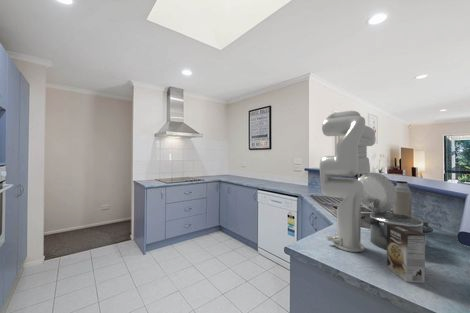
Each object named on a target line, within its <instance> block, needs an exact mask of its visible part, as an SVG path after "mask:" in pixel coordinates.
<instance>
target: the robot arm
mask: <svg viewBox="0 0 470 313" xmlns="http://www.w3.org/2000/svg"><path fill="white" fill-rule="evenodd" d="M321 125H322V126H321V131H322V133H323V135H325V137H341V136H342V137H341V138H340V139H339V140H338V142H336V146H335V155H326V156H323V157H322V158H321V159H320V161H319V179H320V180H319V181H320V190H321V193H322V195H324V196H325V197H329V198H330V197H331V198H339V199H343V200H342V201H340V203H338V205H337V208H336V233H334V235H333V236H329V235H327V236H326V241H327V242H328V241H329V242H331V243H332V244H333V245H334V246H335V247H336V248H338V249H340V250H342V251H345V252H350V253H363V252H364V251H365V249H366V248H365V245H363V244H362V240H361V236H362V235H361V224H362V223H361V219H362V218H361V215H362V212H361V209H362V208H361V207H362V204H361V198H362V193H363V184H362V183H361V182H360V181H359V180H358V179H359V178H360V177H361V176H362V175H364V174H367V173H371V165H370V159H369V157H367V156H368V154H367V153H368V152H367V150H368V149H367V148H368V147H372V146H374V145H375V144H376V132H375V130H374V129H373V128H372V127H370V126H368V125H366V119H365V117H363V116H361V114H360V112H358V111H356V110H346V111H339V112H333V113H331V114H329V115H328V116H327V117H325V119H324V120H323V122H322V124H321ZM353 177H354V178H353Z"/></svg>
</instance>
